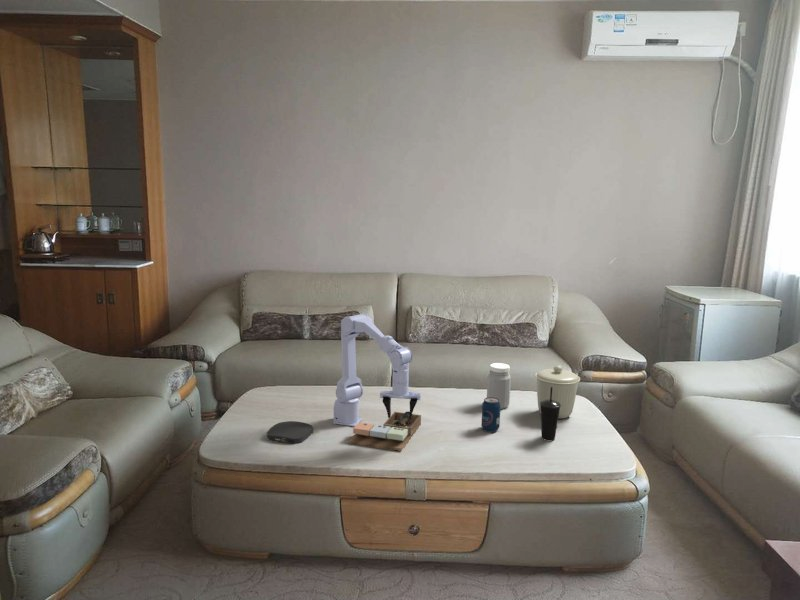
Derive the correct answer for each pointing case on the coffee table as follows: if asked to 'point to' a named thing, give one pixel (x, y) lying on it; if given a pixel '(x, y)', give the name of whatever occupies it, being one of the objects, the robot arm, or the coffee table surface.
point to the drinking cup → (549, 417)
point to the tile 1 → (363, 428)
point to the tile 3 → (397, 433)
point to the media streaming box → (290, 432)
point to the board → (386, 442)
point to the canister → (557, 388)
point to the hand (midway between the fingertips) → (399, 417)
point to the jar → (499, 383)
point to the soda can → (491, 414)
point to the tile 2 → (379, 431)
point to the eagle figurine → (402, 420)
